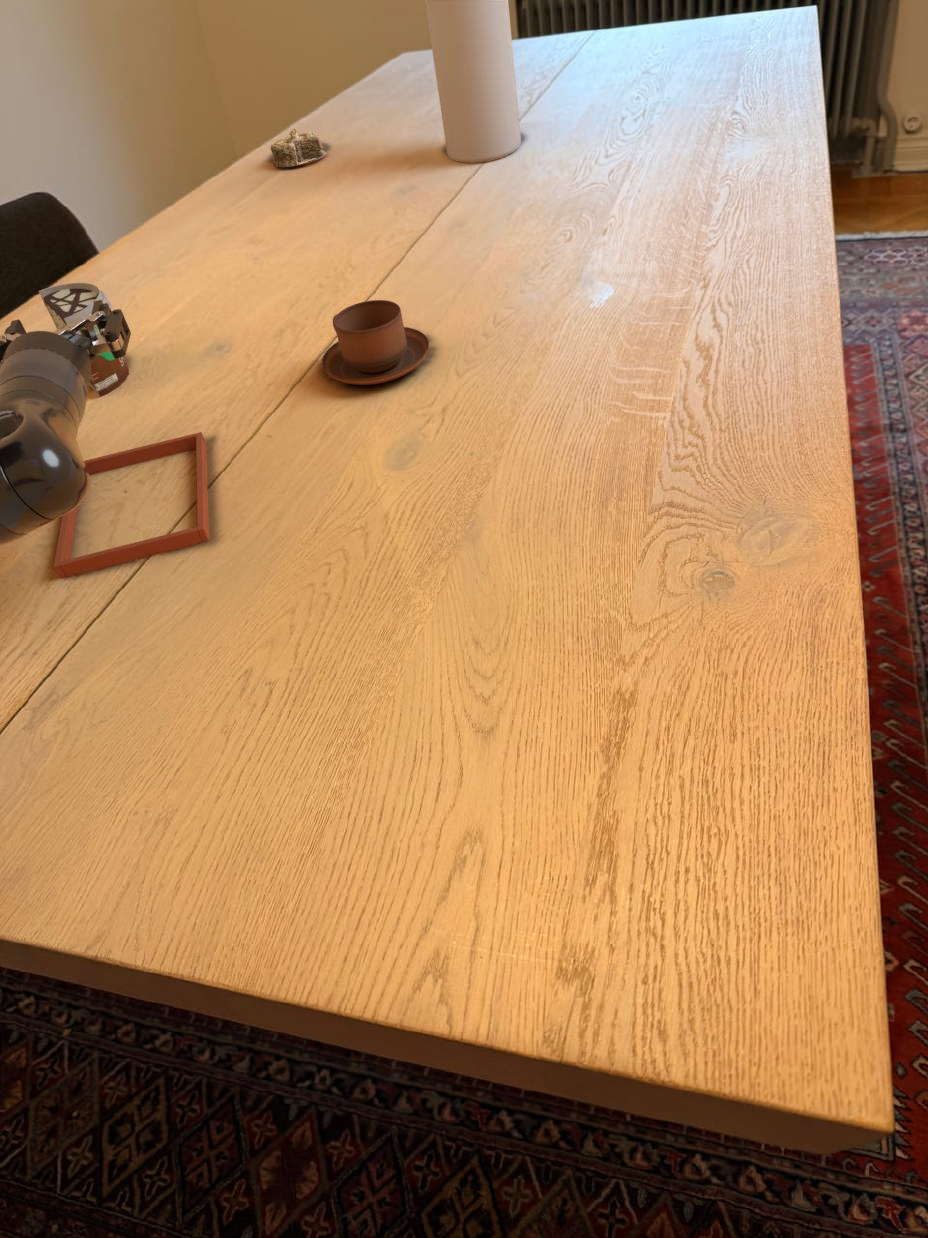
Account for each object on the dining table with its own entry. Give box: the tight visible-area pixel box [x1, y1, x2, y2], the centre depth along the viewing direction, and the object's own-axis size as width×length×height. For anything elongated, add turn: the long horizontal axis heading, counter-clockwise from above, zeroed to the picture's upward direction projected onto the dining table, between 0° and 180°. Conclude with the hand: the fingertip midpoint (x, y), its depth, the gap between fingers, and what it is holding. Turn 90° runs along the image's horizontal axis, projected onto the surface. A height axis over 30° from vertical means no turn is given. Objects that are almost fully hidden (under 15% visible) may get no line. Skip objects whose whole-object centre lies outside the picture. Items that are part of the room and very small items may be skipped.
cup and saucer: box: [321, 299, 430, 386], centre depth 99 cm, size 12×12×6 cm
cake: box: [270, 128, 328, 168], centre depth 163 cm, size 10×10×5 cm
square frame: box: [53, 431, 210, 580], centre depth 86 cm, size 13×17×2 cm
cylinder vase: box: [424, 0, 522, 164], centre depth 144 cm, size 12×12×25 cm
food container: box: [38, 282, 130, 398], centre depth 107 cm, size 12×6×10 cm, turn 34°
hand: (61, 318), depth 94 cm, fingers open, 8 cm apart
